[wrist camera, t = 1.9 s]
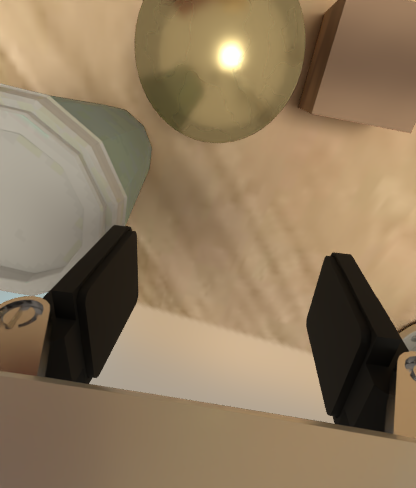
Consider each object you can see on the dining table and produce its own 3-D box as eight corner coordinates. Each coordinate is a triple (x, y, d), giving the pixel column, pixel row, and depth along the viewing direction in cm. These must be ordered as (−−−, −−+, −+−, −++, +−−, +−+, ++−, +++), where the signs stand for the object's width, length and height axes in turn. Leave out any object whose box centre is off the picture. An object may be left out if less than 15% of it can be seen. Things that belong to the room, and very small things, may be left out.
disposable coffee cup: (125, 51, 24) (-32, 9, 10) (202, 171, 27) (158, 255, 14) (34, 129, 27) (-169, 172, 14) (113, 227, 31) (10, 336, 18)
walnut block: (375, 122, 24) (410, 133, 19) (298, 107, 24) (311, 113, 19) (411, 29, 21) (466, 11, 16) (324, 13, 21) (349, -11, 16)
